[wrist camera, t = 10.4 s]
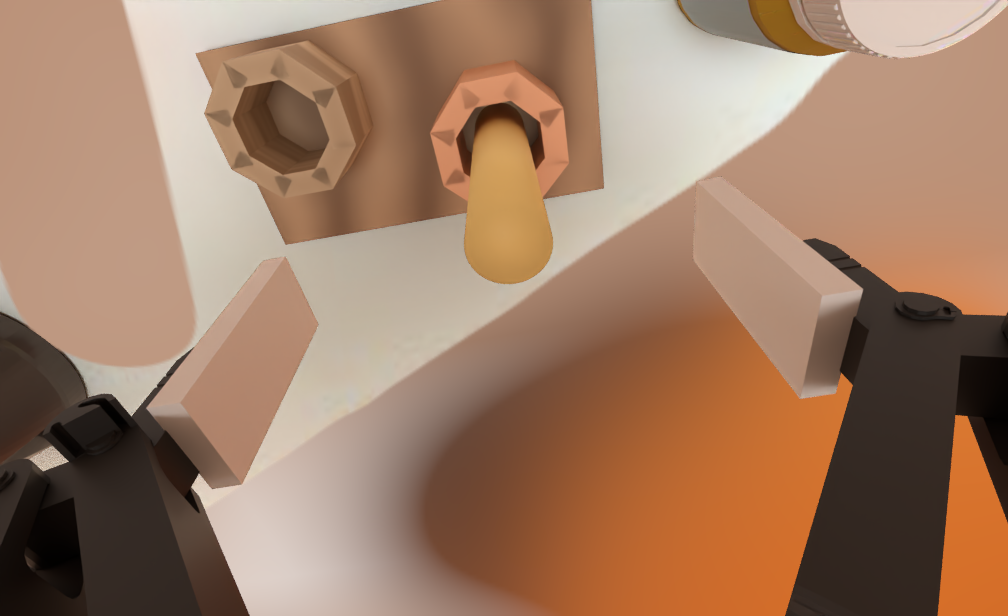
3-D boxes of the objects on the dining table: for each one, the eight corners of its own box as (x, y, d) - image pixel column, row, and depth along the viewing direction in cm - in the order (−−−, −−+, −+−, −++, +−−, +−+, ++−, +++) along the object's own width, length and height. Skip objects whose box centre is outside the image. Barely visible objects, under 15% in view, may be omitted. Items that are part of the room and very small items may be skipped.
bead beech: (278, 178, 31) (249, 204, 28) (224, 57, 28) (182, 69, 24) (383, 158, 31) (368, 182, 27) (344, 32, 27) (320, 40, 23)
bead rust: (457, 192, 32) (452, 219, 28) (429, 77, 28) (419, 91, 24) (563, 173, 31) (572, 198, 28) (549, 52, 28) (558, 63, 24)
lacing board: (291, 237, 35) (285, 244, 34) (205, 50, 28) (195, 53, 27) (600, 182, 33) (603, 188, 32) (585, -31, 27) (588, -31, 26)
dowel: (480, 157, 31) (474, 290, 17) (470, 107, 29) (454, 212, 16) (527, 148, 31) (557, 276, 17) (519, 97, 29) (546, 195, 16)
